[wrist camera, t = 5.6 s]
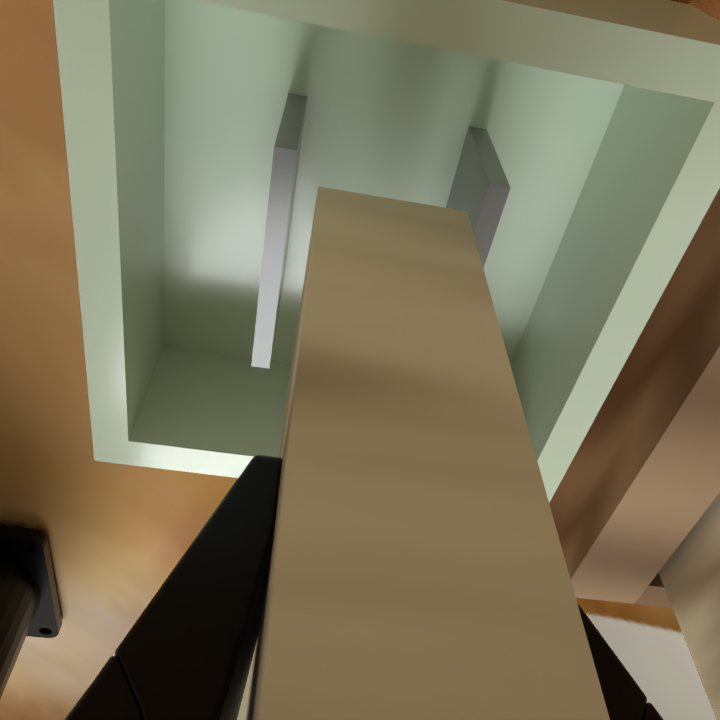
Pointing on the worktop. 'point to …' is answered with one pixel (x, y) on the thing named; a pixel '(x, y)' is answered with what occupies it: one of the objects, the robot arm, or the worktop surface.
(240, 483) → the robot arm
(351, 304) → the block
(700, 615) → the block
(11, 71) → the worktop surface
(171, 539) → the worktop surface
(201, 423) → the green open tray
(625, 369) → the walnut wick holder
